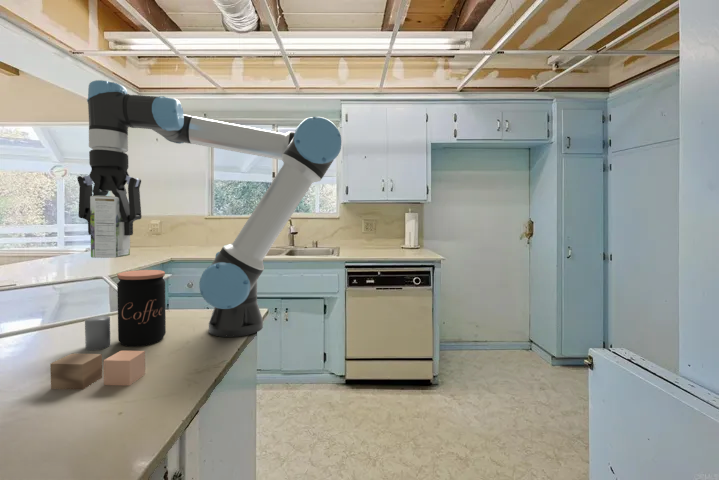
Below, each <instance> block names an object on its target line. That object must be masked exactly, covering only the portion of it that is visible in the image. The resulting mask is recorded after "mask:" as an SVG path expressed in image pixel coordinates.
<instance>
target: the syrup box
mask: <svg viewBox="0 0 719 480" xmlns="http://www.w3.org/2000/svg"><path fill="white" fill-rule="evenodd" d="M127 199H128V202H129V197H127ZM121 220H122V217H121V214H120V211H119V198H118V197H115V195H114V196H112V195H106V196H93V195H92V196H90V222H91V235H90V257H91V258H92V259H93V258H94V259H96V258H97V259H99V258H100V259H102V258H103V259H107V258H108V259H109V258H114V259H116V258H121V257H127V256H130V254H131V248H130V249H125V250H120V244H119V222H121Z"/></svg>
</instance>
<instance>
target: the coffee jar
mask: <svg viewBox="0 0 719 480" xmlns="http://www.w3.org/2000/svg"><path fill="white" fill-rule="evenodd" d="M165 275H166V272H165V271H164V270H160V269H141V270H140V269H139V270H138V269H137V270H126V271H123V272H119V273H117V276H116V277H117V279H118V280H119V281H118V282H117V284H116V286H117V291H116V292H117V293H116V295H117V335H118V336H117V338H118V342H119V343H120V344H121V345H122V346H125V347H132V348H134V347H136V348H137V347H143V346H150V345H153V344H156V343H158V342H160V341H161V340H163V338H164V337H165V335H166V332H167V331H166V328H167V326H166V324H167V323H166V280H165V279H164V277H165Z"/></svg>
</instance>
